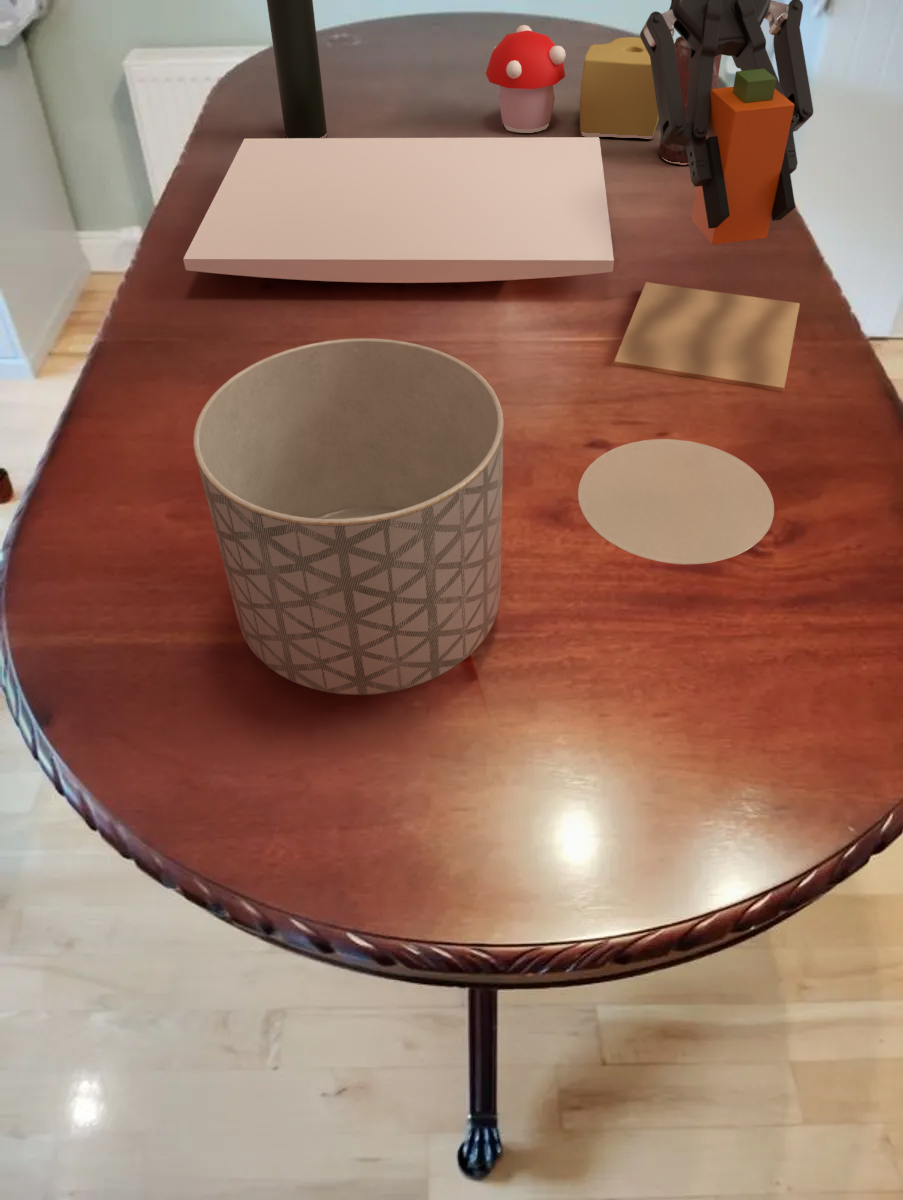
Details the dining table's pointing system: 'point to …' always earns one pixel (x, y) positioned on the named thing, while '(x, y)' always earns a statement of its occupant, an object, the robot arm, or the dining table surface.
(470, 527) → the planter
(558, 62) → the mushroom
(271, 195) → the board
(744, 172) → the carrot block
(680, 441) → the plate
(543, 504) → the dining table surface
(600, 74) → the cheese
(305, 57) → the wine bottle
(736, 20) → the robot arm
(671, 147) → the can
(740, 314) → the coaster
